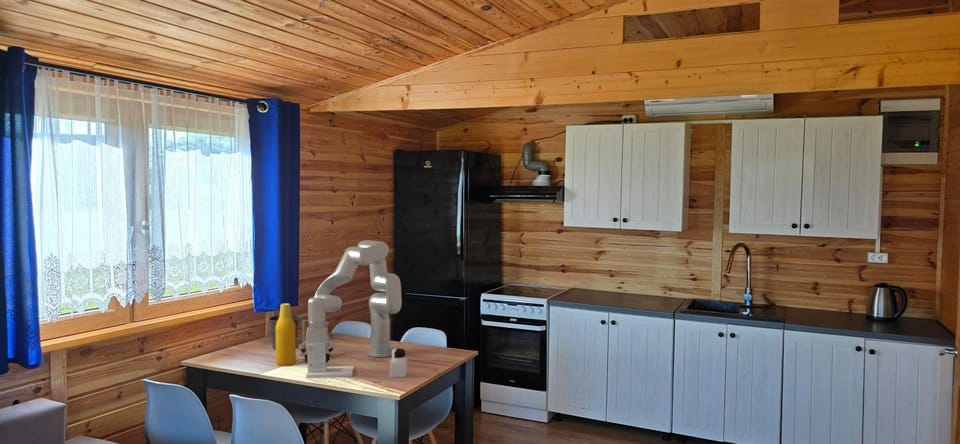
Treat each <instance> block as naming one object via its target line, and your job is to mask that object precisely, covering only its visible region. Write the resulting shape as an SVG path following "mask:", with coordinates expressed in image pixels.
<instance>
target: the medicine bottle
mask: <svg viewBox="0 0 960 444" xmlns="http://www.w3.org/2000/svg"><path fill="white" fill-rule="evenodd" d="M407 373H408V358H407V357H406V350H405V349H404V348H397V349H393V350H392V355H391V358H390V360H389V377H390V378H406V377H407Z"/></svg>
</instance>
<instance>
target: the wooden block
mask: <svg viewBox="0 0 960 444" xmlns="http://www.w3.org/2000/svg"><path fill="white" fill-rule="evenodd" d="M307 327H308V319H303V320H301V335H302V336H301V339H302V340H301V341H302V342H304V341H305V340H306V331H307ZM302 342H301V343H302ZM302 347H303V348H304V349H305V350H306V344H305V345H303V346H302ZM300 356H302V357H305V354H304V353H303V352H302V351H301V350H300Z"/></svg>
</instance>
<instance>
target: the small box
mask: <svg viewBox="0 0 960 444" xmlns="http://www.w3.org/2000/svg"><path fill="white" fill-rule="evenodd" d="M307 359H308V363H307V372H326V369H327V367H328V363H326V348H325V343H321V344H307Z"/></svg>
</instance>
